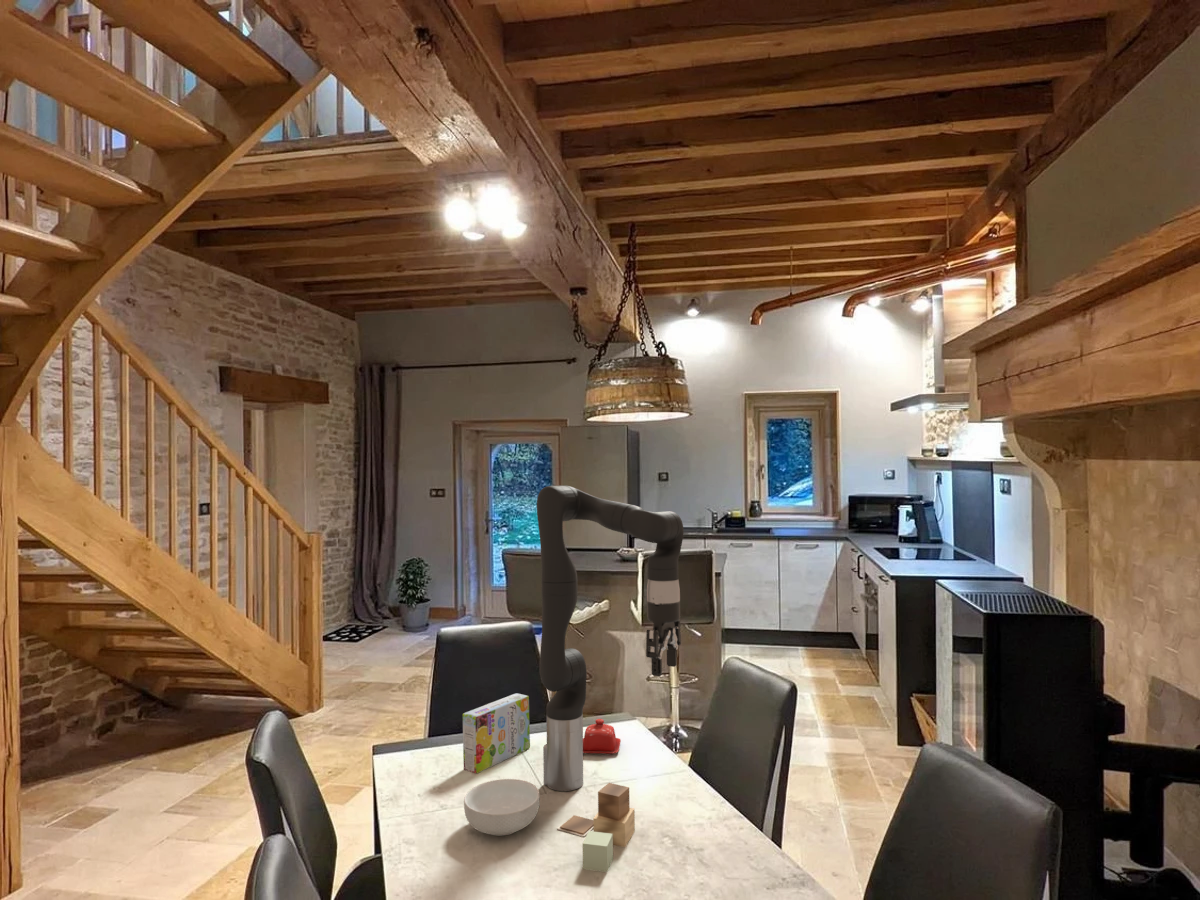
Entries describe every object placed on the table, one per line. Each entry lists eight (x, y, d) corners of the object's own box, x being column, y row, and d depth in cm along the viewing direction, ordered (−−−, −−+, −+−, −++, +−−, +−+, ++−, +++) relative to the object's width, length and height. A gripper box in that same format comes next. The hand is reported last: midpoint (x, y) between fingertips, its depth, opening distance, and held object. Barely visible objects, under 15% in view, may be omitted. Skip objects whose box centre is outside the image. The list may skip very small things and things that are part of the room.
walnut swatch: (557, 829, 152) (557, 827, 152) (573, 816, 158) (573, 814, 158) (584, 836, 149) (584, 834, 149) (599, 823, 155) (599, 820, 155)
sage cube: (582, 869, 137) (582, 843, 137) (589, 855, 142) (588, 830, 142) (607, 872, 136) (607, 846, 136) (613, 858, 141) (612, 833, 141)
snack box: (516, 744, 202) (516, 692, 203) (530, 748, 199) (530, 695, 199) (462, 769, 185) (461, 712, 185) (476, 774, 181) (476, 716, 182)
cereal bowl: (456, 817, 158) (456, 786, 159) (526, 803, 165) (526, 773, 165) (473, 854, 143) (473, 819, 143) (550, 837, 149) (549, 803, 150)
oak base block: (593, 842, 147) (593, 818, 147) (604, 826, 154) (604, 803, 154) (625, 847, 145) (624, 823, 145) (634, 831, 151) (634, 808, 152)
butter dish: (582, 741, 204) (582, 712, 205) (621, 742, 203) (621, 713, 204) (577, 756, 193) (576, 725, 193) (618, 758, 192) (618, 726, 192)
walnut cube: (598, 815, 149) (597, 791, 149) (609, 805, 153) (609, 782, 153) (618, 820, 146) (618, 796, 146) (629, 810, 151) (629, 787, 151)
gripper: (660, 593, 167) (661, 661, 166) (635, 602, 154) (636, 676, 153) (690, 595, 163) (691, 665, 162) (666, 605, 151) (667, 681, 150)
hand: (664, 670), depth 158 cm, fingers open, 8 cm apart
